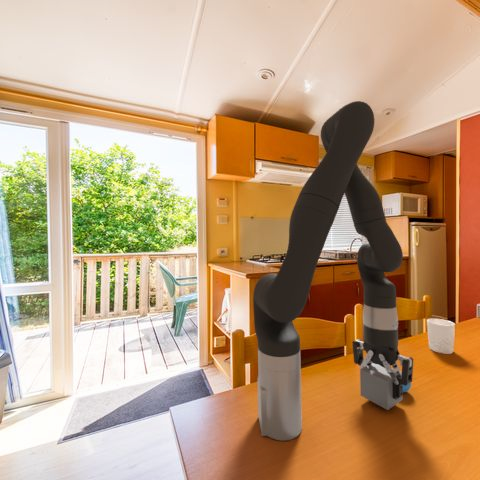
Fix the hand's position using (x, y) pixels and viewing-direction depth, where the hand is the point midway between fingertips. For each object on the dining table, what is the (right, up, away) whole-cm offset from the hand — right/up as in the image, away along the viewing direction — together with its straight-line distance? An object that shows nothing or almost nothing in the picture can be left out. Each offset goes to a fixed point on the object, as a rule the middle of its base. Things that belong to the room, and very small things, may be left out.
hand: (381, 390), depth 64 cm
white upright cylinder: (+37, -2, +28) cm, 46 cm away
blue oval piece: (+8, -1, +5) cm, 9 cm away
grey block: (0, -2, 0) cm, 2 cm away
